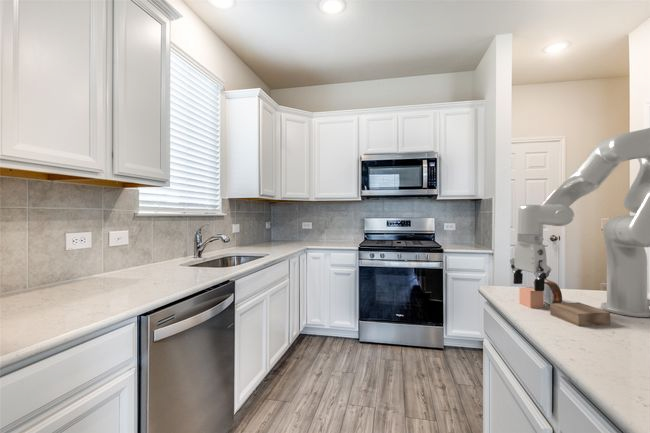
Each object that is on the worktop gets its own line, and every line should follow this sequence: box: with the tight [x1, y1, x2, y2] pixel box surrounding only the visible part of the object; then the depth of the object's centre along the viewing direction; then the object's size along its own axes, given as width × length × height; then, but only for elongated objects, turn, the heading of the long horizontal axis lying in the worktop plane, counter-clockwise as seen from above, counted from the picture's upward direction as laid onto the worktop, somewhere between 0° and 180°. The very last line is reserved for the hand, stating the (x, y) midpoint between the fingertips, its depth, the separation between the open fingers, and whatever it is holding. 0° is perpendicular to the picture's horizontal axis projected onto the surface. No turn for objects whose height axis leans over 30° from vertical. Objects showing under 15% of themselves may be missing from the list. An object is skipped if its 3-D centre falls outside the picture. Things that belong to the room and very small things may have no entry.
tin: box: [533, 279, 563, 307], centre depth 111 cm, size 15×3×8 cm, turn 168°
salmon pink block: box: [519, 286, 545, 309], centre depth 108 cm, size 5×5×6 cm
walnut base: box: [549, 301, 611, 327], centre depth 94 cm, size 10×10×4 cm
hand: (528, 287), depth 109 cm, fingers open, 9 cm apart
